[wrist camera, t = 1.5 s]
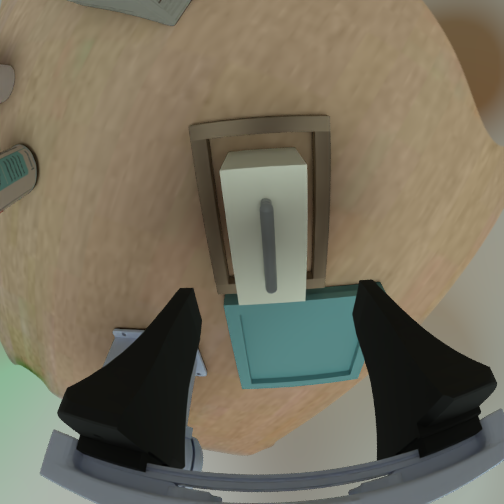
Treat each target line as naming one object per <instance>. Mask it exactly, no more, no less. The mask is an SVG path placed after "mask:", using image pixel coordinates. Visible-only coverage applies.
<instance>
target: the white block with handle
mask: <svg viewBox="0 0 504 504" xmlns="http://www.w3.org/2000/svg"><path fill="white" fill-rule="evenodd" d="M220 178H221V186H222V193H223V200H224V208H225V215H226V222H227V229H228V236H229V243H230V250H231V256H232V263H233V270H234V276H235V283H236V289H237V296H238V302H239V305H253V304H270V303H286V302H300V301H305V298H306V272H307V222H308V196H307V164H306V162H305V161H304V160H303V158H302V157H301V155H300V154H299V153H298V151H297V150H296V148H295V147H287V148H269V149H254V150H242V151H232V152H228V154H227V156H226V158H225V160H224V162H223V164H222V166H221V169H220Z"/></svg>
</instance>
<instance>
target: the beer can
mask: <svg viewBox="0 0 504 504" xmlns="http://www.w3.org/2000/svg"><path fill="white" fill-rule="evenodd" d="M36 177H37V170H36V163H35V160H34V158H33V155H32V153H31V152H30V150H29V149H28V148H27V147H25V146H24V145H20V144H18V145H15V146H13V147H12V148H9V149H7V150H5V151H3V152H1V153H0V213H1V212H3V211H4V210H5V209H7V208H8V207H9V206H11V205H12V204H14V203H15V202H16V201H18V200H19V199H21V198H22V197H24V196H25V195H27V194H28V193H30V192H31V190H32V189H33V188H34V186H35V183H36Z"/></svg>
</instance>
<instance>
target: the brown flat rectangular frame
mask: <svg viewBox="0 0 504 504" xmlns="http://www.w3.org/2000/svg"><path fill="white" fill-rule="evenodd" d="M280 132H312V147H313V239H312V267H311V272H306V289H315V288H325V277H326V265H327V251H328V234H329V214H330V177H331V141H330V116H327V115H290V116H268V117H253V118H242V119H232V120H222V121H214V122H207V123H200V124H193V125H190V126H189V133H190V140H191V147H192V154H193V160H194V167H195V173H196V179H197V185H198V191H199V197H200V203H201V209H202V215H203V220H204V226H205V231H206V237H207V242H208V247H209V252H210V257H211V263H212V268H213V273H214V277H215V282H216V287H217V292H218V294H237V289H236V283H235V277H229V272H228V266H227V260H226V254H225V248H224V241H223V235H222V228H221V222H220V215H219V208H218V202H217V195H216V188H215V181H214V174H213V166H212V159H211V151H210V144H209V139H211V138H219V137H228V136H238V135H250V134H263V133H280Z"/></svg>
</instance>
